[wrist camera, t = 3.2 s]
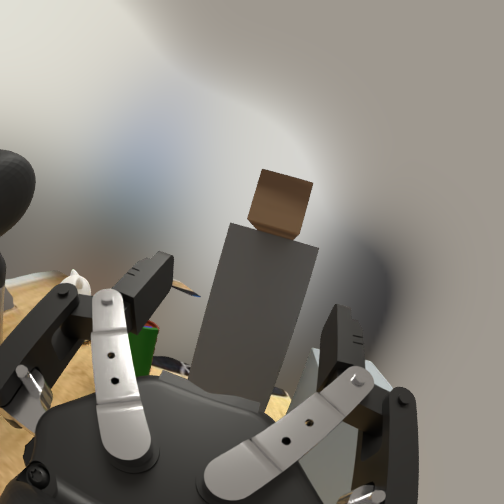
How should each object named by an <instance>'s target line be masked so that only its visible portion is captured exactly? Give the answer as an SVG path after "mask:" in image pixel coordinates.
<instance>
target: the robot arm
mask: <svg viewBox="0 0 504 504" xmlns="http://www.w3.org/2000/svg"><path fill="white" fill-rule="evenodd" d="M35 183H36V181H35V173H34V170H33V168H32V166H31V164H30V163H29V162H28V161H27V160H26V159H25V158H24V157H22V156H21V155H19V154H17V153H14V152H12V151H7V150H1V149H0V236H2V235H3V234H5V233H6V232H7V231H8V230H10V229H11V228H12V227H13V226H14V225H15V224H16V223H17V222H18V221H19V220H20V219H21V217H22V216H23V215H24V213H25V212H26V210H27V209H28V207H29V205H30V203H31V200H32V198H33V194H34V190H35ZM173 264H174V257H173V256H172V255H170V254H167V253H164V252H160V251H158V252H157V253H156V254H155V255H154V256H153V257H152V258H151V259H149V258H145V259H143V260H141V261H138V262H137V263H136V264H135V265H134V266H133V267H132V269H130V270H129V271H128V272H127V273H126V274H125V275H124V276H123V277H122V278H121V279H120V280H119V281H118V282H117V283H116V284H115V285H114V286H113V287H112V288H111V289H104V290H100V291H98V292H97V293H96V294H95V295H94V296H90V295H83V294H78V291H77V288H76V286H75V285H73V284H71V283H61V284H58V285H56V286H55V287H54V288H53V289H52V290H51V291H50V292H49V293H48V294H47V295H46V296H45V297H44V298H43V299H42V300H41V301H40V302H39V303H38V304H37V305H36V306H35V307H34V308H33V309H32V310H31V311H30V312H29V313H28V314H27V316H26V317H25V318H24V319H23V320H22V321H21V322H20V323H19V324H18V325H17V327H16V328H15V329H14V330H13V331H12V332H11V333H10V335H9V336H8V337H7V338H6V339H5V340H4V342H3V304H4V288H5V276H6V264H5V260H4V258H3V257H2V255H1V253H0V414H1V415H2V416H3V417H4V418H5V419H6V420H7V421H8V422H9V423H10V424H11V425H12V426H13V427H15V428H24V429H25V430H26V431H28V432H29V433H30V434H32V435H33V436H35V442H34V449H33V454H32V457H31V460H30V462H29V464H28V466H27V467H26V468H25V469H24V470H23V471H22V472H21V473H20V474H18V475H17V476H16V477H15V478H14V479H12V480H11V481H10V482H9V483H8V484H7V486H6V488H5V489H4V491H3V493H2V495H1V496H0V504H324V503H323V502H322V500H321V498H320V497H319V495H318V493H317V492H316V490H315V488H314V487H313V485H312V483H311V482H310V480H309V478H308V477H307V475H306V473H305V471H304V470H303V468H302V466H301V464H300V463H299V461H298V460H300V459H301V458H302V457H303V456H304V455H306V454H307V453H308V452H309V451H310V450H311V449H313V448H314V447H315V446H316V445H317V444H318V443H319V442H321V441H322V440H323V439H324V438H325V437H326V436H327V435H328V434H329V433H330V432H331V431H333V430H334V429H335V428H336V427H337V426H338V425H339V424H340V423H341V422H342V421H343V422H345V423H347V424H349V425H351V426H353V427H355V428H357V429H358V436H357V446H356V456H355V464H354V471H353V479H352V485H351V491H350V492H348V493H346V494H344V495H342V496H341V497H340V498H339V499H338V501H337V503H336V504H417V500H418V477H419V474H418V473H419V450H418V449H419V448H418V425H417V410H416V400H415V397H414V395H413V394H412V393H411V392H410V391H409V390H407V389H406V388H403V387H396V388H394V389H392V390H391V391H390V392H389V391H387V390H385V389H383V388H381V387H379V386H377V385H376V384H374V379H373V377H372V375H371V374H370V372H369V371H367V370H366V369H365V354H364V345H363V344H364V342H363V332H362V327H361V326H360V324H359V322H358V321H357V320H354V319H352V316H351V308H350V307H346V306H343V305H339V304H335V305H334V307H333V309H332V311H331V313H330V315H329V317H328V319H327V321H326V323H325V325H324V327H323V330H322V334H321V339H320V354H319V366H318V378H317V388H316V393H314V394H313V395H312V396H310V397H309V398H308V399H307V400H305V401H304V402H303V403H301V404H300V405H299V406H297V407H296V408H295V409H293V410H292V411H291V412H289V413H288V414H287V415H285V416H284V417H282V418H281V419H280V420H278V421H277V422H275V421H274V420H273V419H272V418H271V417H270V416H268V415H267V414H265V413H264V412H262V411H260V410H259V407H260V403H259V402H256V401H252V400H249V399H245V398H242V397H238V396H233V395H222V394H212V393H208V392H206V391H204V390H203V389H201V388H199V387H198V386H196V385H195V384H193V383H192V382H190V381H188V380H187V379H185V378H182V377H180V376H177V375H174V374H172V373H169V372H167V371H164V370H163V371H162V373H161V375H160V376H153V375H146V376H139V377H135V372H134V367H133V362H132V357H131V351H130V345H129V340H128V334H129V333H130V332H131V333H133V334H135V335H138V334H139V332H140V331H141V330H142V328H143V327H144V325H145V324H146V323H147V321H148V320H149V318H150V317H151V316H152V314H153V313H154V312H155V310H156V309H157V308H158V306H159V305H160V303H161V302H162V301H163V299H164V298H165V297H166V295H167V294H168V293H169V291H170V289H171V286H172V282H173V266H174V265H173ZM85 340H89V341H91V348H92V362H93V373H94V383H95V391H96V392H95V393H92V394H89V395H87V396H84V397H81V398H78V399H75V400H72V401H69V402H66V403H63V404H60V405H57V406H55V407H52V408H50V407H51V402H52V399H53V394H52V391H51V388H52V387H53V385H54V384H55V382H56V381H57V379H58V378H59V376H60V375H61V373H62V372H63V371H64V369H65V368H66V366H67V365H68V363H69V362H70V360H71V359H72V358H73V356H74V355H75V353H76V352H77V351H78V349H79V348H80V346H81V345H82V344H83V342H84V341H85Z"/></svg>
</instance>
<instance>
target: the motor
mask: <svg viewBox="0 0 504 504" xmlns="http://www.w3.org/2000/svg"><path fill="white" fill-rule="evenodd" d="M158 333H159V327H158V326H157V325H156V324H155V323H154V322H151V321H150V320H148V321H147V323H146V324H145V325H144V327H143V328H142V330H141V331H140V332H139V334H138V335H135V334H133V333H131V332H130V333H129V334H128V340H129V345H130V351H131V357H132V362H133V367H134V372H135V377H139V376H146V375H149V372H150V369H151V363H152V360H153V354H154V350H155V344H156V342H157V335H158Z"/></svg>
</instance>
